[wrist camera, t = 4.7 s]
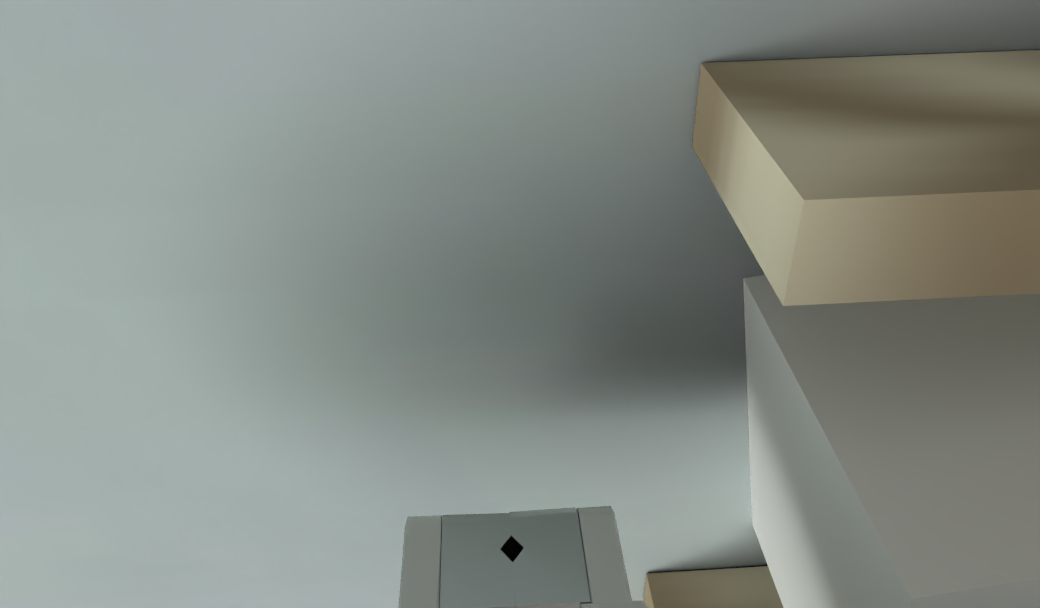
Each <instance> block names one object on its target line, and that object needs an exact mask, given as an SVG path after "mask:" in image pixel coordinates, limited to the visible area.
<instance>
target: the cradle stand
mask: <svg viewBox="0 0 1040 608" xmlns="http://www.w3.org/2000/svg"><path fill="white" fill-rule="evenodd" d="M692 148H693V149H694V151H695V153H696V155H697V156H698V158H699V160H700V162H701V163H702V165H703V167H704V169H705V170H706V172H707V174H708V176H709V177H710V179H711V181H712V183H713V184H714V186H715V188H716V190H717V191H718V193H719V195H720V197H721V198H722V200H723V202H724V204H725V205H726V207H727V209H728V211H729V212H730V214H731V216H732V218H733V219H734V221H735V223H736V225H737V226H738V228H739V230H740V232H741V233H742V235H743V237H744V239H745V240H746V242H747V244H748V246H749V247H750V249H751V251H752V253H753V254H754V256H755V258H756V260H757V261H758V263H759V265H760V267H761V268H762V270H763V272H764V274H765V275H766V277H767V279H768V281H769V282H770V284H771V286H772V288H773V289H774V291H775V293H776V295H777V296H778V298H779V300H780V302H781V303H782V305H783V306H795V305H815V304H835V303H856V302H876V301H896V300H916V299H937V298H957V297H977V296H998V295H1018V294H1038V293H1040V50H1026V51H1000V52H973V53H947V54H921V55H895V56H869V57H842V58H816V59H790V60H764V61H737V62H711V63H701V67H700V76H699V86H698V95H697V104H696V114H695V123H694V132H693V142H692ZM643 602H644V603H645V604H646V605H647V606H648V607H649V608H783V605H782V602H781V600H780V597H779V594H778V592H777V589H776V586H775V584H774V581H773V578H772V576H771V573H770V570H769V567H768V566H764V567H747V568H731V569H714V570H698V571H682V572H665V573H649V574H646V582H645V591H644V601H643Z"/></svg>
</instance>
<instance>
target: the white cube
mask: <svg viewBox="0 0 1040 608" xmlns="http://www.w3.org/2000/svg"><path fill="white" fill-rule="evenodd" d="M743 286H744V313H745V340H746V367H747V394H748V421H749V448H750V475H751V502H752V525H753V527H754V530H755V533H756V535H757V538H758V541H759V543H760V546H761V549H762V551H763V554H764V557H765V559H766V562H767V565H768V567H769V570H770V573H771V576H772V578H773V581H774V584H775V586H776V589H777V592H778V594H779V597H780V600H781V602H782V605H783V608H1040V293H1038V294H1018V295H998V296H977V297H957V298H937V299H916V300H896V301H876V302H856V303H835V304H815V305H795V306H783V305H782V303H781V302H780V300H779V298H778V296H777V295H776V293H775V291H774V289H773V288H772V286H771V284H770V282H769V281H768V279H767V277H766V275H760V276H754V277H749V278H744V279H743Z"/></svg>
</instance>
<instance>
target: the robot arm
mask: <svg viewBox="0 0 1040 608" xmlns="http://www.w3.org/2000/svg"><path fill="white" fill-rule="evenodd" d="M399 608H649V607H648V606H647V605H646V604H645V603H644V602H643V601H632V600H631V595H630V590H629V585H628V580H627V575H626V570H625V565H624V560H623V555H622V549H621V544H620V539H619V534H618V529H617V524H616V519H615V514H614V511H613V509H612V508H611V506H602V507H585V508H577V509H576V508H561V509H547V510H532V511H517V512H510V513H496V514H462V515H443V516H442V515H440V516H415V517H408V518H407V521H406V525H405V533H404V546H403V558H402V571H401V584H400V597H399Z"/></svg>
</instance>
